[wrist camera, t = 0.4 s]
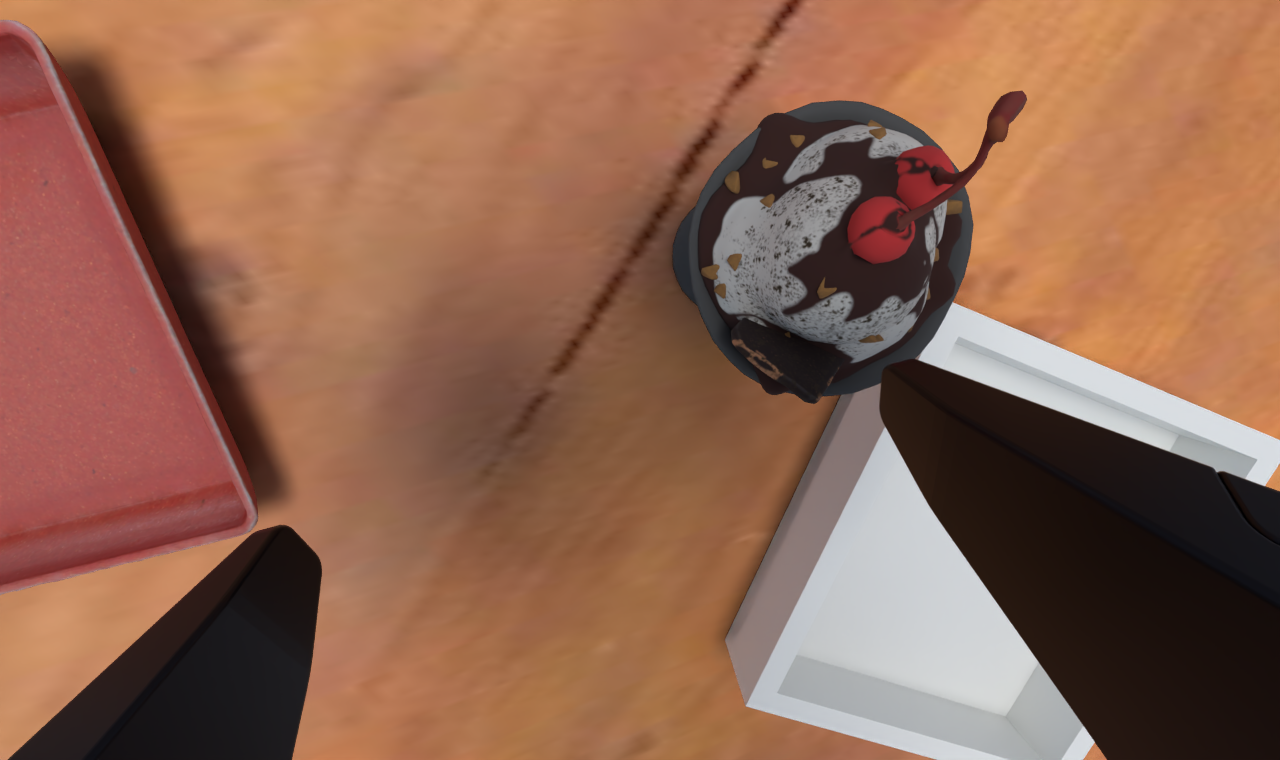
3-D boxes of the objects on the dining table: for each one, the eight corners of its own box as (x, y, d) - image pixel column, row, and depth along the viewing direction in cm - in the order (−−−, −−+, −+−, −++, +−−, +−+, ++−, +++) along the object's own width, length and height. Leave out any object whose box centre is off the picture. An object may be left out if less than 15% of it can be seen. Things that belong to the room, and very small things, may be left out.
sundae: (777, 138, 21) (1150, -105, 7) (832, 295, 23) (1229, 372, 8) (624, 209, 22) (667, 120, 7) (689, 359, 23) (833, 542, 9)
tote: (998, 720, 29) (1060, 793, 25) (724, 639, 26) (745, 706, 23) (1185, 415, 25) (1291, 445, 21) (889, 292, 23) (947, 300, 19)
